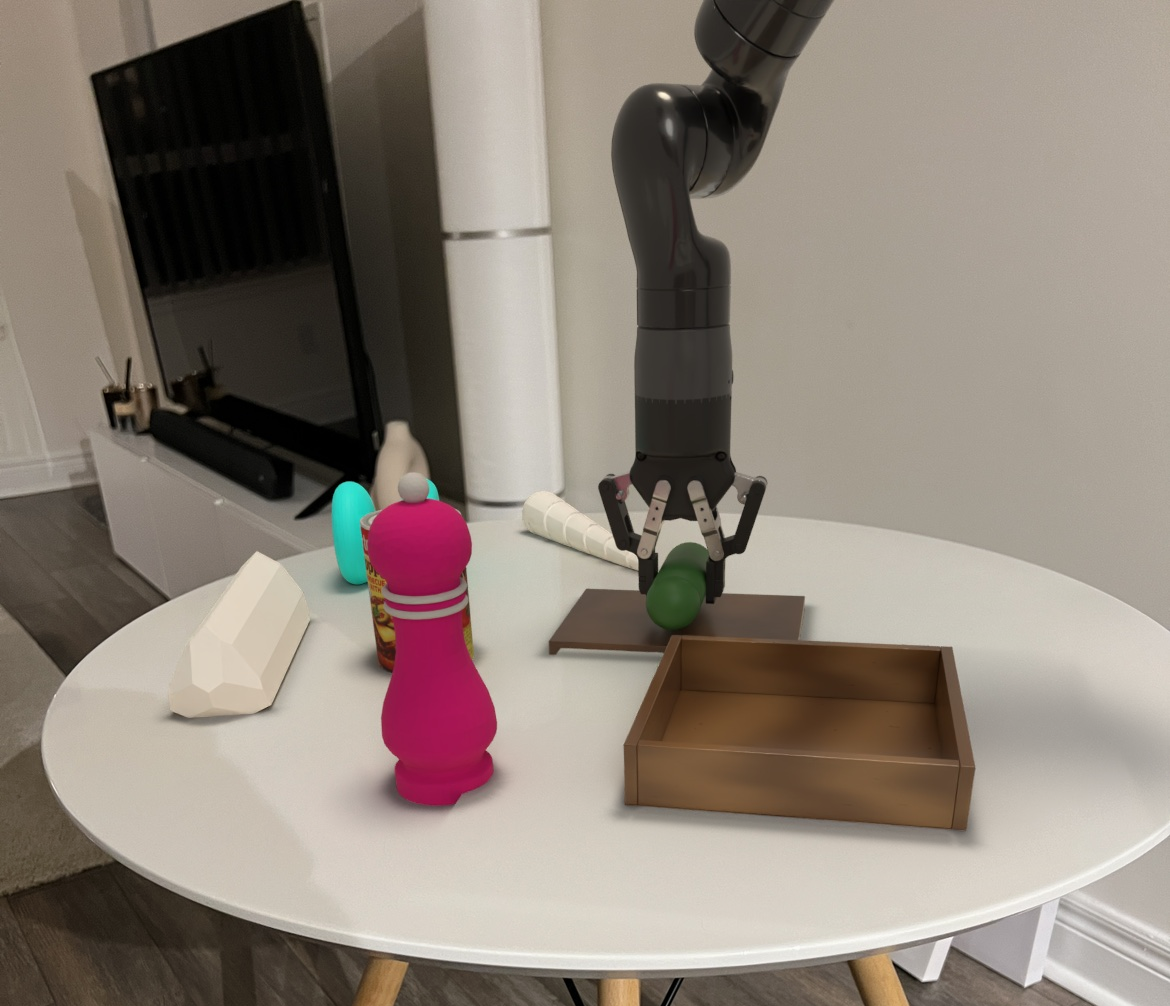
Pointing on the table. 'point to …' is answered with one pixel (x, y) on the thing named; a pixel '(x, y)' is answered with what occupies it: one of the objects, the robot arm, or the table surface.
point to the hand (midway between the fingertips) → (681, 598)
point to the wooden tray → (804, 732)
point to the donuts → (354, 528)
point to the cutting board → (628, 627)
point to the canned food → (384, 620)
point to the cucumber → (678, 587)
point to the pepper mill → (430, 650)
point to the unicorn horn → (572, 528)
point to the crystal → (241, 644)
